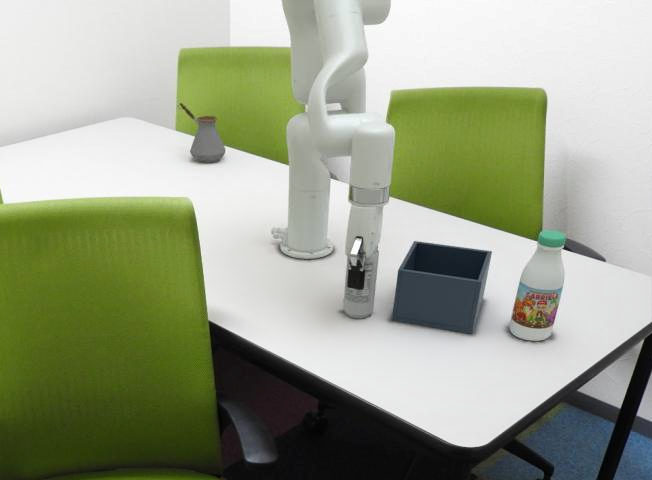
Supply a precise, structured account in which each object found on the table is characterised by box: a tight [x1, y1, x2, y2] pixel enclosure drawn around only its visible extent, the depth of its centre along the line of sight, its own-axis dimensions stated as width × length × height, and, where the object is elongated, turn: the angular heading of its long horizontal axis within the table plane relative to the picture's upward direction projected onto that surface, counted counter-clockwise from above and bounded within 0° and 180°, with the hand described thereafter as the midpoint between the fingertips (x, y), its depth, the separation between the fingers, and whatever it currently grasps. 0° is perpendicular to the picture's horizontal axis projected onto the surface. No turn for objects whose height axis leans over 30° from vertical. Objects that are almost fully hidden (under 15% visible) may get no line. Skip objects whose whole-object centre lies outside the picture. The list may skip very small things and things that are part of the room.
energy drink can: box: [342, 245, 380, 319], centre depth 151 cm, size 6×6×15 cm
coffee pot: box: [177, 102, 226, 164], centre depth 244 cm, size 21×12×15 cm, turn 35°
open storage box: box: [391, 240, 493, 335], centre depth 152 cm, size 16×16×11 cm
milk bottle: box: [509, 229, 567, 342], centre depth 141 cm, size 8×8×20 cm
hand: (361, 278), depth 150 cm, fingers open, 9 cm apart
